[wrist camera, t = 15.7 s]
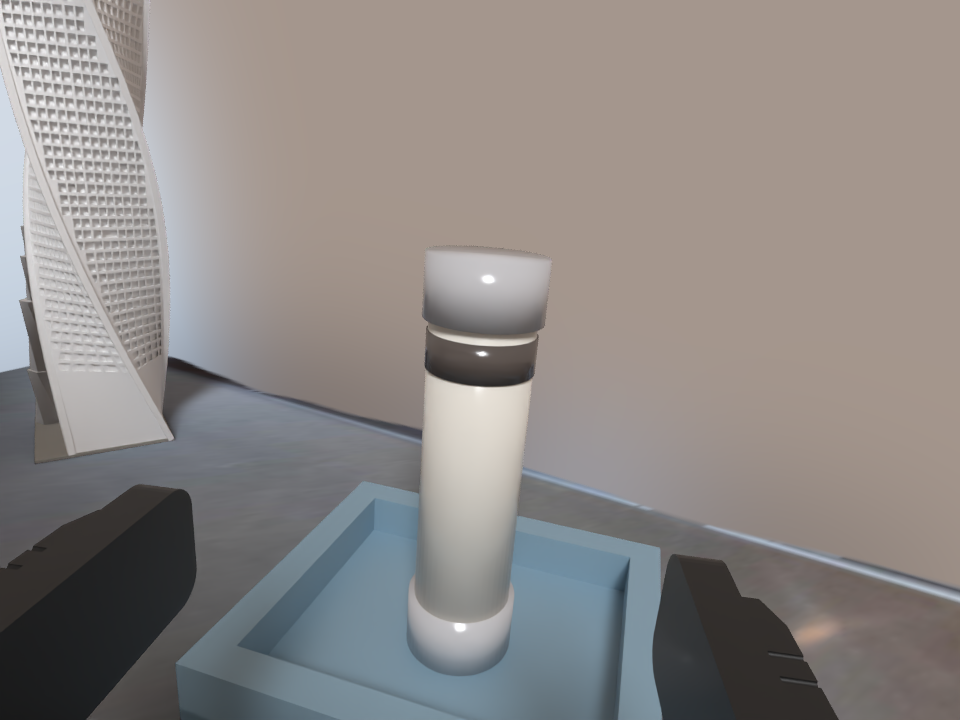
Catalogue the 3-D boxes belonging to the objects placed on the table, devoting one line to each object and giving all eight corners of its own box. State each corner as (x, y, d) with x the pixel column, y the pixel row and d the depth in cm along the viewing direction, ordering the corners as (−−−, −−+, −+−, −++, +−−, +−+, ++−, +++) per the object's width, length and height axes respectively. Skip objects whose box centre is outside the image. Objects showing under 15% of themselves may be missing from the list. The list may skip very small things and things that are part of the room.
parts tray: (181, 728, 18) (175, 663, 17) (362, 525, 29) (363, 480, 28) (645, 901, 15) (662, 829, 14) (650, 596, 26) (660, 547, 25)
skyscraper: (179, 403, 43) (144, -37, 35) (203, 446, 36) (168, -77, 28) (36, 423, 38) (-44, -84, 30) (35, 477, 32) (-66, -144, 23)
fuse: (389, 657, 20) (404, 252, 16) (428, 589, 24) (450, 242, 20) (494, 689, 19) (538, 268, 15) (519, 614, 23) (561, 254, 19)
